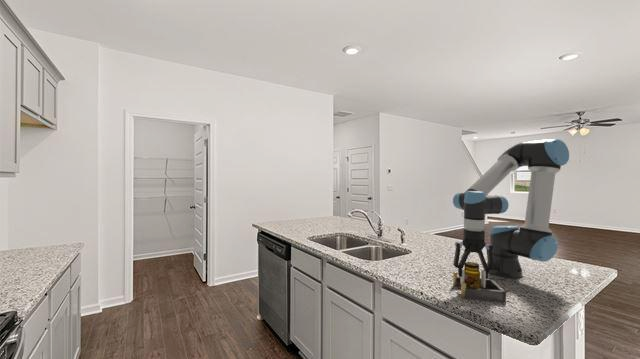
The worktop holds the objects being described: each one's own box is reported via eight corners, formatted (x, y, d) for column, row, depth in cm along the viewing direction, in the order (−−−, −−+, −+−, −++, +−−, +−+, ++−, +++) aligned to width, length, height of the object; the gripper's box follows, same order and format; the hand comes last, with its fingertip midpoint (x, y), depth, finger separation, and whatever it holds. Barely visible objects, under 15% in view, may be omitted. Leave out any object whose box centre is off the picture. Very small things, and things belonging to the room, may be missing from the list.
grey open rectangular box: (491, 288, 121) (492, 274, 121) (506, 302, 107) (506, 287, 107) (452, 285, 124) (452, 271, 124) (461, 298, 111) (461, 283, 110)
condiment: (463, 295, 114) (464, 265, 114) (459, 287, 122) (459, 259, 122) (483, 297, 112) (484, 267, 112) (478, 289, 120) (478, 260, 120)
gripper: (497, 228, 117) (496, 284, 118) (445, 226, 121) (444, 280, 122) (505, 232, 110) (503, 291, 110) (449, 229, 114) (448, 286, 114)
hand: (472, 285), depth 116 cm, fingers open, 7 cm apart
